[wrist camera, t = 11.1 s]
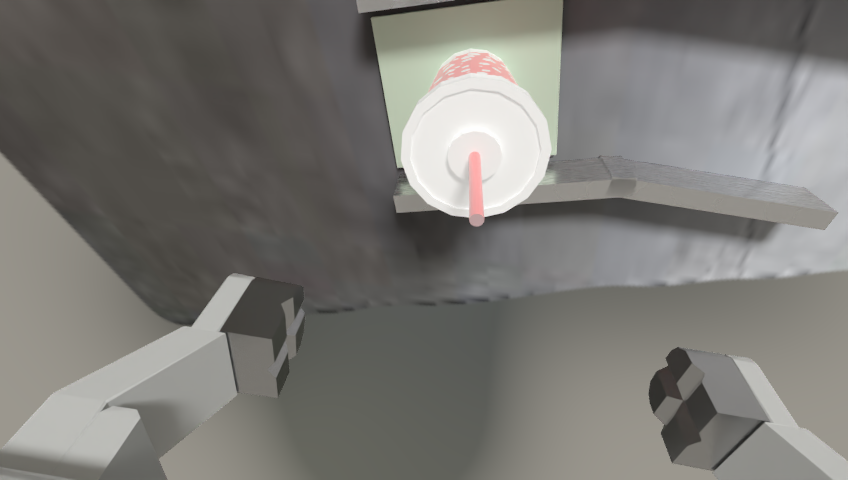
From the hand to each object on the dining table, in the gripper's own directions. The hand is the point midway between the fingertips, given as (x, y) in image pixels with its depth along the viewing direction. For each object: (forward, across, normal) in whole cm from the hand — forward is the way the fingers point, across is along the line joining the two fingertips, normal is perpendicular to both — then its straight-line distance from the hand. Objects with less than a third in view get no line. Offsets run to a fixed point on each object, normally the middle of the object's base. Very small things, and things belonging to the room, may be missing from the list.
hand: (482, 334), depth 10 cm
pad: (+19, 0, 0) cm, 19 cm away
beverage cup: (+19, 0, 0) cm, 19 cm away
